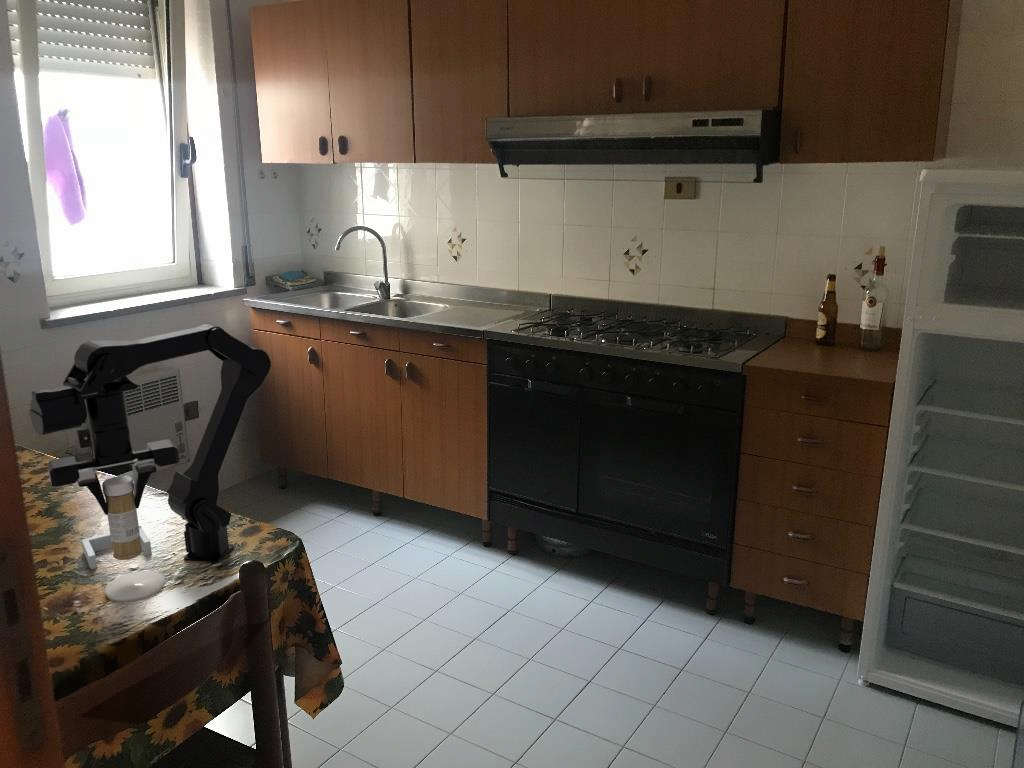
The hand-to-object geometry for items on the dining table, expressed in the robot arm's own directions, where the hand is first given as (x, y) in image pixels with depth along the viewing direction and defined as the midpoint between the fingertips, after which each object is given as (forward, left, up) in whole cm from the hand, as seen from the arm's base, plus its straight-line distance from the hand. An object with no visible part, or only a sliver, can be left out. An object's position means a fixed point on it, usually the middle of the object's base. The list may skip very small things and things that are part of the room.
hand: (121, 510), depth 136 cm
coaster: (-2, +2, -13) cm, 13 cm away
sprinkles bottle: (0, 0, -8) cm, 8 cm away
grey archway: (+8, -8, -13) cm, 18 cm away
